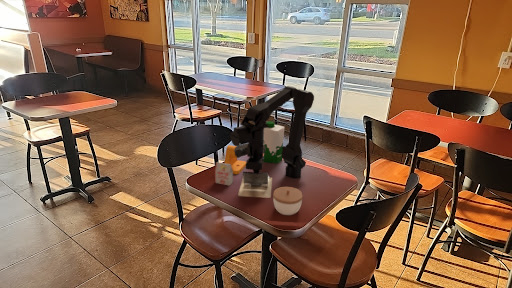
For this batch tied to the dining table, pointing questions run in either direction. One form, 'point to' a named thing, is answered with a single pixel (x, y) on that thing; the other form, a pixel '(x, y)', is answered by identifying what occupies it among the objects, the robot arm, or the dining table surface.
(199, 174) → the dining table surface
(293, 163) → the robot arm
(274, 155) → the milk carton
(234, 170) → the bracket
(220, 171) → the white printed packet
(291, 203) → the lidded jar
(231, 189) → the dining table surface
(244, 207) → the dining table surface
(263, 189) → the mounting board
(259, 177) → the loose leaf
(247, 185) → the fixed leaf
